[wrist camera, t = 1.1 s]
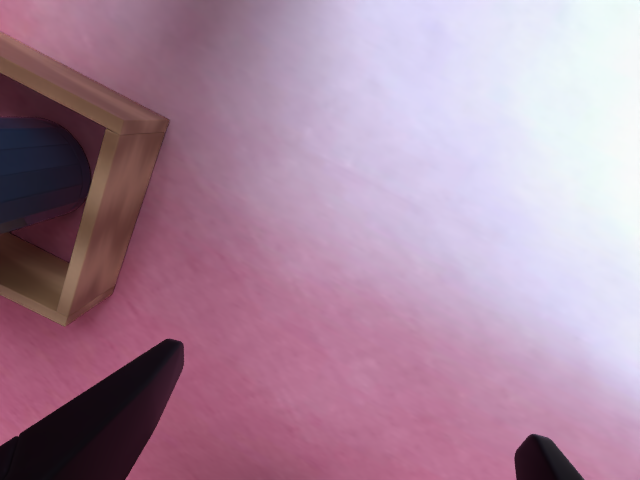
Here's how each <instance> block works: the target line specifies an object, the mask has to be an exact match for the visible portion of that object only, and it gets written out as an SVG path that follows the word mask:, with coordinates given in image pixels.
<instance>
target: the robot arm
mask: <svg viewBox="0 0 640 480" xmlns="http://www.w3.org/2000/svg"><path fill="white" fill-rule="evenodd" d="M183 365H184V345H183V343H182V342H181V341H177V340H173V339H166V340H164V341H162V342H161V343H159V344H158V345H156V346H155V347H153V348H151V349H150V350H148V351H147V352H145V353H144V354H142V355H141V356H139V357H138V358H136V359H134V360H133V361H131V362H130V363H128V364H127V365H125V366H124V367H122V368H121V369H119V370H117V371H116V372H114V373H113V374H111V375H110V376H108V377H107V378H105V379H104V380H102V381H100V382H99V383H97V384H96V385H94V386H93V387H91V388H90V389H88V390H87V391H85V392H83V393H82V394H80V395H79V396H77V397H76V398H74V399H73V400H71V401H70V402H68V403H66V404H65V405H63V406H62V407H60V408H59V409H57V410H56V411H54V412H53V413H51V414H49V415H48V416H46V417H45V418H43V419H42V420H40V421H39V422H37V423H36V424H34V425H32V426H31V427H29V428H28V429H26V430H25V431H23V432H22V433H20V435H19V437H18V436H15V437H14V438H12V439H11V440H9V441H7V442H6V443H4V444H3V445H1V446H0V480H125V479H126V477H127V476H128V474H129V472H130V471H131V469H132V467H133V466H134V464H135V462H136V460H137V459H138V457H139V455H140V454H141V452H142V450H143V449H144V447H145V445H146V444H147V442H148V440H149V439H150V437H151V435H152V433H153V431H154V430H155V428H156V426H157V424H158V422H159V419H160V417H161V415H162V413H163V411H164V409H165V407H166V404H167V402H168V400H169V398H170V396H171V394H172V391H173V389H174V387H175V385H176V383H177V381H178V378H179V376H180V374H181V372H182V369H183ZM515 470H516V479H517V480H584V479H583V477H582V476H581V475H580V474H579V473H578V471H577V470H576V469H575V468H574V467H573V465H572V464H571V463H570V462H569V460H568V459H567V458H566V457H565V456H564V454H563V453H562V452H561V451H560V450H559V448H558V447H557V446H556V445H555V443H554V442H553V441H552V440H551V439H549V438H547V437H544V436H540V435H536V434H531V435H529V436H528V437H527V438H526V440H525V441H524V442H523V443H522V444H521V446H520V447H519V448H518V449H517V450H516V453H515Z"/></svg>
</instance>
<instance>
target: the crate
mask: <svg viewBox="0 0 640 480" xmlns="http://www.w3.org/2000/svg"><path fill="white" fill-rule="evenodd" d="M0 73H1V74H3V75H5V76H7V77H9V78H11V79H13V80H15V81H17V82H19V83H21V84H23V85H25V86H27V87H28V88H30V89H32V90H34V91H36V92H38V93H40V94H42V95H44V96H46V97H48V98H50V99H52V100H54V101H56V102H57V103H59V104H61V105H63V106H65V107H67V108H69V109H71V110H73V111H75V112H77V113H79V114H81V115H83V116H84V117H86V118H88V119H90V120H92V121H94V122H96V123H98V124H100V125H102V126H104V127H106V128H107V129H106V130H105V134H104V138H103V141H102V145H101V149H100V152H99V156H98V160H97V164H96V167H95V171H94V175H93V178H92V182H91V186H90V189H89V193H88V197H87V200H86V204H85V208H84V211H83V215H82V219H81V223H80V226H79V230H78V234H77V237H76V241H75V245H74V248H73V252H72V256H71V259H70V263H68V262H66V261H64V260H62V259H60V258H58V257H56V256H54V255H52V254H50V253H48V252H46V251H44V250H42V249H40V248H38V247H36V246H34V245H32V244H30V243H28V242H26V241H24V240H22V239H20V238H18V237H16V236H14V235H12V234H10V233H5V234H1V235H0V295H1V296H3V297H5V298H7V299H9V300H11V301H13V302H16V303H18V304H20V305H22V306H24V307H26V308H28V309H30V310H32V311H34V312H36V313H38V314H40V315H42V316H44V317H46V318H48V319H50V320H52V321H54V322H56V323H58V324H60V325H62V326H67V325H68V324H70V323H71V322H73V321H74V320H75V319H77V318H78V317H80V316H81V315H83V314H84V313H86V312H87V311H88V310H90V309H91V308H93V307H94V306H96V305H97V304H99V303H100V302H102V301H103V300H104V299H106V298H107V297H109V296H110V295H112V293H113V290H114V287H115V283H116V280H117V277H118V274H119V271H120V268H121V265H122V262H123V259H124V256H125V253H126V250H127V247H128V244H129V241H130V238H131V235H132V232H133V229H134V226H135V223H136V220H137V217H138V214H139V211H140V208H141V205H142V201H143V198H144V195H145V192H146V189H147V186H148V183H149V180H150V177H151V174H152V171H153V168H154V165H155V162H156V159H157V156H158V153H159V150H160V147H161V144H162V141H163V138H164V135H165V132H166V129H167V126H168V123H169V120H168V119H167V118H165V117H163V116H161V115H159V114H157V113H155V112H153V111H151V110H149V109H147V108H146V107H144V106H142V105H140V104H138V103H136V102H134V101H132V100H130V99H128V98H126V97H125V96H123V95H121V94H119V93H117V92H115V91H113V90H111V89H109V88H107V87H105V86H103V85H102V84H100V83H98V82H96V81H94V80H92V79H90V78H88V77H86V76H84V75H82V74H81V73H79V72H77V71H75V70H73V69H71V68H69V67H67V66H65V65H63V64H61V63H60V62H58V61H56V60H54V59H52V58H50V57H48V56H46V55H44V54H42V53H40V52H39V51H37V50H35V49H33V48H31V47H29V46H27V45H25V44H23V43H21V42H19V41H17V40H16V39H14V38H12V37H10V36H8V35H6V34H4V33H2V32H0Z"/></svg>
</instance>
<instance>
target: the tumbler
mask: <svg viewBox="0 0 640 480" xmlns="http://www.w3.org/2000/svg"><path fill="white" fill-rule="evenodd" d="M90 180H91V177H90V169H89V164H88V161H87V158H86V156H85V154H84V152H83V150H82V148H81V146H80V145H79V144H78V142H77V141H76V140H75V138H74V137H73V136H72V135H71V134H70V133H69V132H68V131H66V130H65V129H64V128H62V127H61V126H59V125H58V124H56V123H54V122H52V121H50V120H47V119H43V118H38V117H18V116H0V235H1V234H5V233H8V232H11V231H14V230H17V229H20V228H24V227H27V226H30V225H33V224H36V223H39V222H43V221H46V220H49V219H52V218H55V217H58V216H61V215H64V214H67V213H70V212H72V211H74V210H75V209H77V208H78V207H79V206H80V205H81V204H82V203H83V202H84V200H85V199H86V197H87V195H88V192H89V188H90Z"/></svg>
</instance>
